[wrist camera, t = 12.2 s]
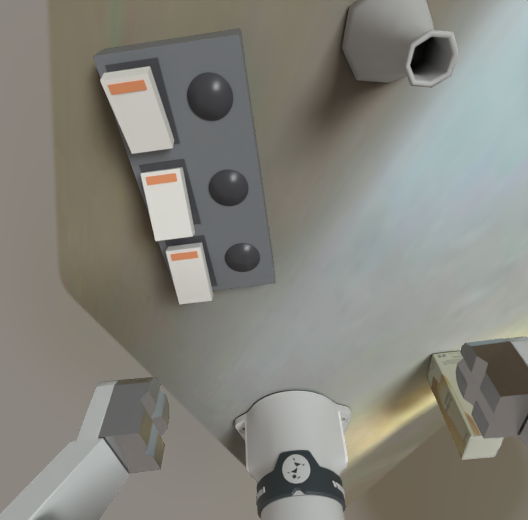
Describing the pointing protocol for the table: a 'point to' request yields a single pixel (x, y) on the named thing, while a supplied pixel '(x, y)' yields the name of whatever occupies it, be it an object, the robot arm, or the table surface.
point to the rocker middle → (168, 203)
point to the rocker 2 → (190, 273)
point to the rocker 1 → (138, 109)
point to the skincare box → (458, 408)
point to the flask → (397, 43)
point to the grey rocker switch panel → (207, 149)
